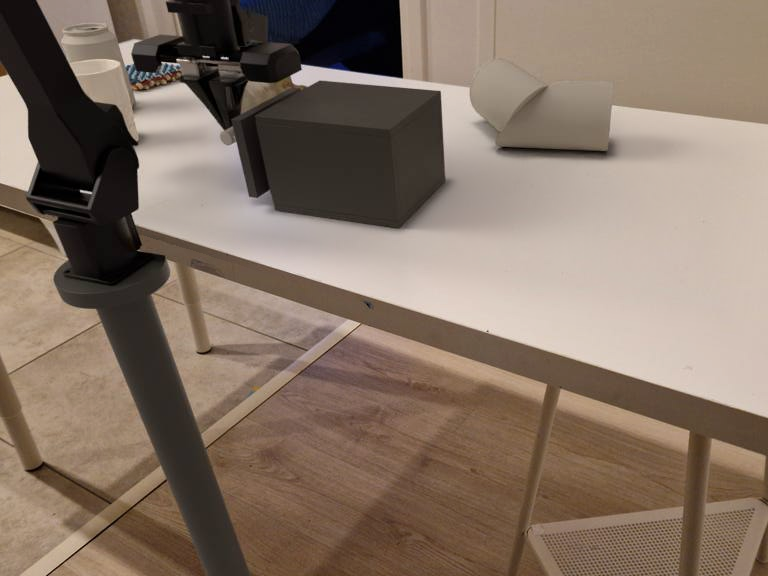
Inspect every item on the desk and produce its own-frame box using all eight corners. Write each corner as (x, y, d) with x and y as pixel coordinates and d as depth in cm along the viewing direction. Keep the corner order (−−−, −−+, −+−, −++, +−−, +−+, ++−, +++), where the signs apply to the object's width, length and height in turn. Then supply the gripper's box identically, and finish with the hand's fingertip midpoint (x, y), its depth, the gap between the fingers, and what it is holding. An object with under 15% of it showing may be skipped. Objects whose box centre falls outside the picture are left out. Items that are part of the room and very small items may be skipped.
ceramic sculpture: (192, 52, 103) (277, 39, 112) (204, 114, 108) (284, 96, 118) (236, 64, 98) (321, 49, 107) (246, 129, 103) (327, 109, 112)
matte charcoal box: (274, 210, 81) (254, 115, 74) (332, 167, 91) (319, 80, 84) (399, 228, 77) (389, 129, 70) (445, 181, 87) (441, 90, 80)
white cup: (132, 129, 104) (109, 55, 98) (151, 143, 99) (128, 67, 93) (76, 141, 100) (48, 66, 94) (93, 157, 95) (65, 78, 89)
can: (147, 106, 112) (122, 23, 105) (107, 120, 107) (77, 33, 100) (116, 100, 116) (90, 18, 108) (76, 113, 110) (45, 28, 103)
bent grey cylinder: (450, 149, 91) (607, 156, 89) (450, 59, 87) (615, 63, 84) (474, 134, 107) (607, 140, 104) (475, 57, 102) (615, 61, 100)
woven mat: (190, 77, 125) (187, 65, 124) (139, 93, 118) (135, 80, 117) (151, 69, 130) (148, 57, 129) (100, 84, 123) (96, 72, 122)
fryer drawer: (217, 192, 83) (197, 115, 78) (275, 155, 92) (261, 84, 87) (361, 212, 78) (351, 132, 72) (407, 171, 87) (401, 97, 82)
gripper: (314, -23, 79) (334, 120, 88) (174, -29, 84) (208, 107, 93) (258, -4, 70) (287, 151, 80) (107, -12, 75) (152, 135, 85)
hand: (233, 134), depth 85 cm, fingers closed
